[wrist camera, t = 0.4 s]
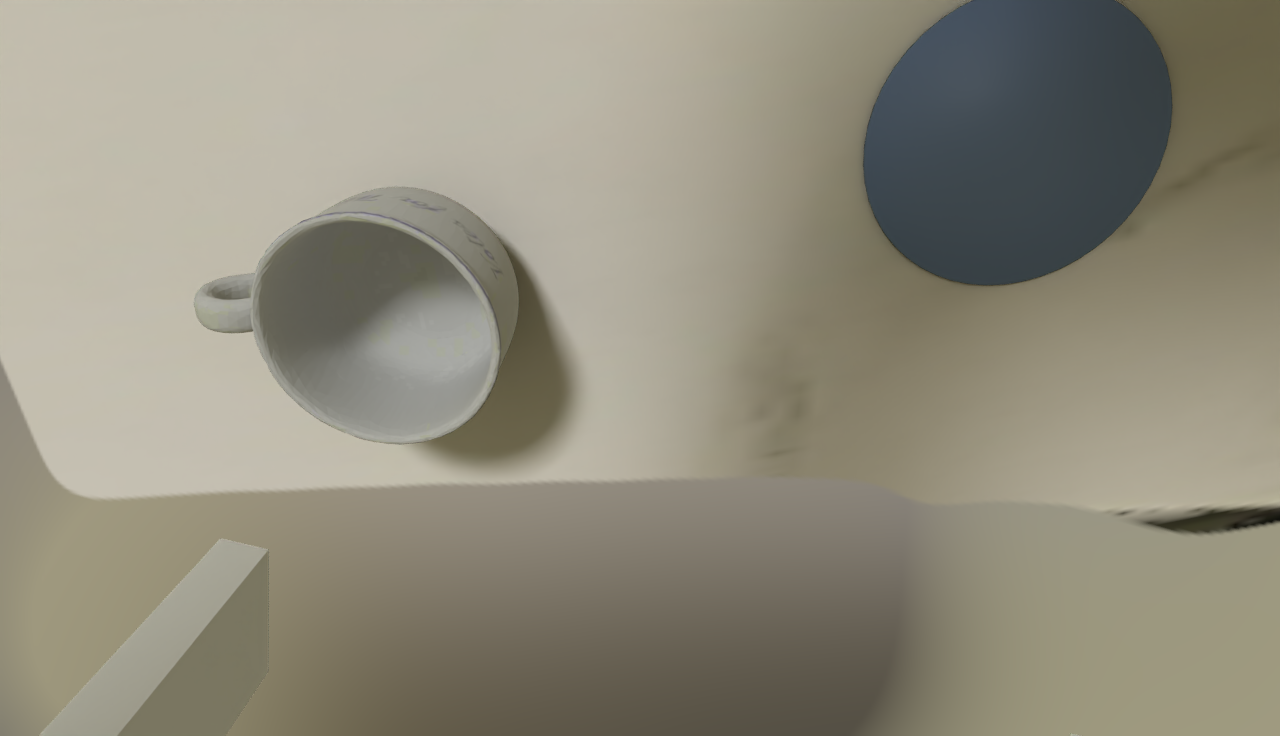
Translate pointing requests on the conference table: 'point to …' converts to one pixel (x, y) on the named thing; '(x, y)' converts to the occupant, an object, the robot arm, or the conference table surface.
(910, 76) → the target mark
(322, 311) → the teacup
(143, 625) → the robot arm
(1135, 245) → the conference table surface
